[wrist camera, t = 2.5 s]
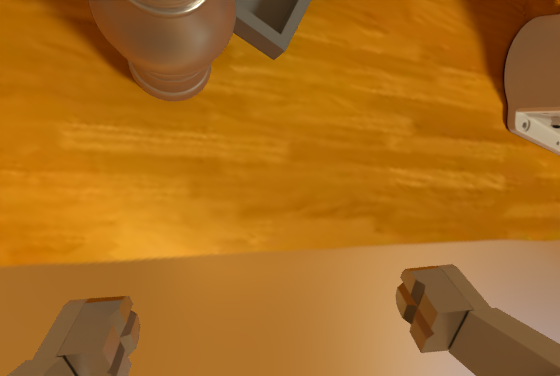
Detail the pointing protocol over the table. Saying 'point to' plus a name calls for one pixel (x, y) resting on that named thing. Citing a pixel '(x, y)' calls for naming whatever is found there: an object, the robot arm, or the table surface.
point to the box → (269, 23)
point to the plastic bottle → (167, 40)
